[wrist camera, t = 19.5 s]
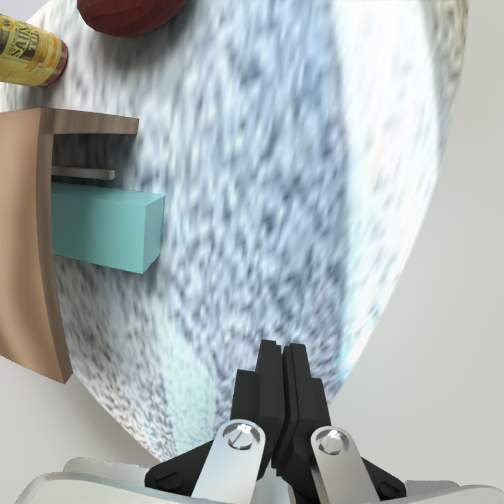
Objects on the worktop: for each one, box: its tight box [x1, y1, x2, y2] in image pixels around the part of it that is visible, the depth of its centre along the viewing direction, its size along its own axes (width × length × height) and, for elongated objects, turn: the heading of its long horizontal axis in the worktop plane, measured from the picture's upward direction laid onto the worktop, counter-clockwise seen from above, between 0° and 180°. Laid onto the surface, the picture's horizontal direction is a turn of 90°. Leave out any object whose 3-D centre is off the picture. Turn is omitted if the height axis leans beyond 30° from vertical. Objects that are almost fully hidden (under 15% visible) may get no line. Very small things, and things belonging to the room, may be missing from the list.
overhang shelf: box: [0, 108, 139, 384], centre depth 22 cm, size 14×19×14 cm
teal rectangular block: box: [51, 182, 165, 274], centre depth 27 cm, size 16×6×5 cm, turn 81°
